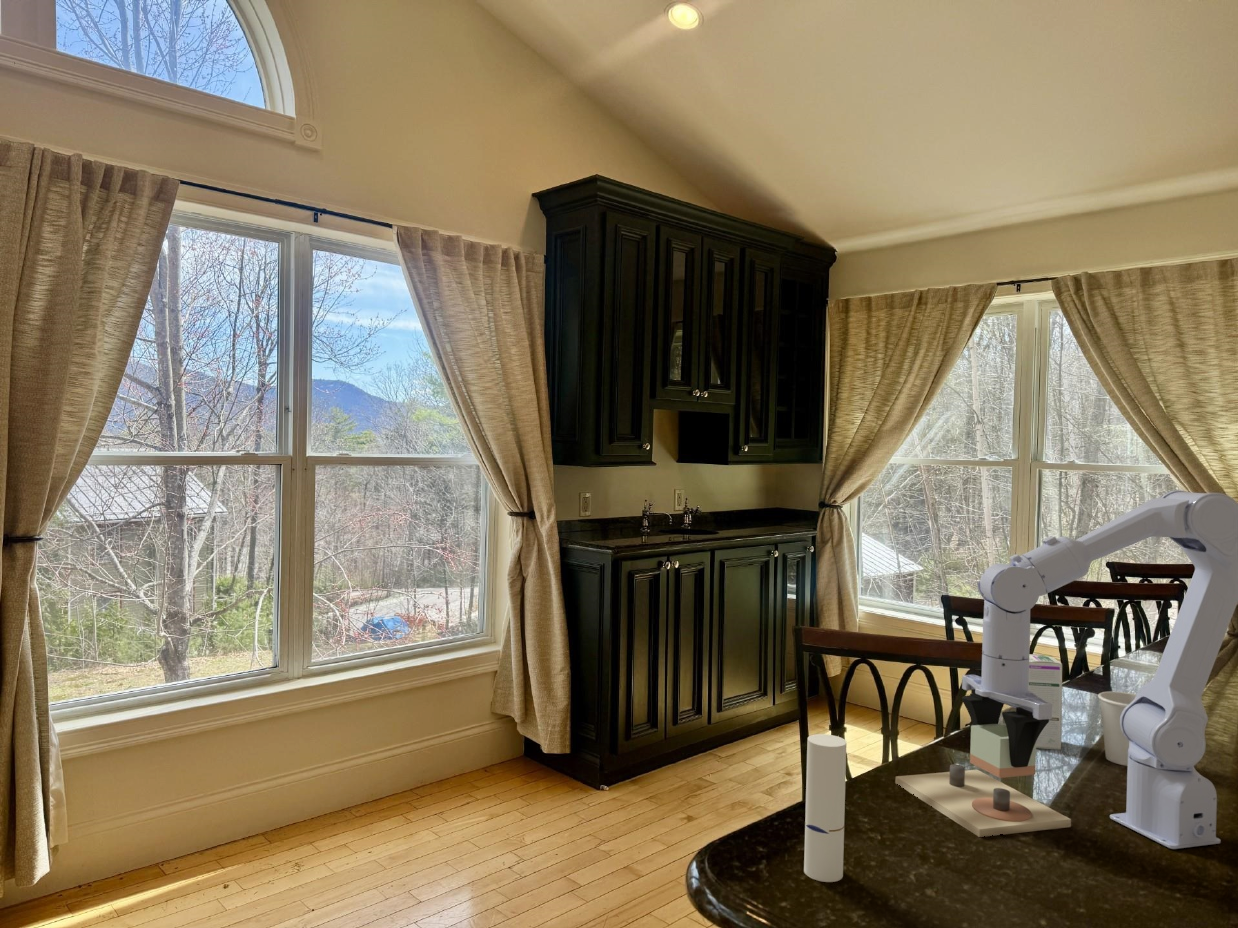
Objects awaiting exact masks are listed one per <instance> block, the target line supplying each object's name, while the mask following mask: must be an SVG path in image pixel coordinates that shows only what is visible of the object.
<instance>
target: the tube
mask: <svg viewBox="0 0 1238 928" xmlns="http://www.w3.org/2000/svg"><path fill="white" fill-rule="evenodd" d="M806 746H807V748H806V749H807V750H806V777H805V778H806V782H805V783H806V786H805V788H806V789H805V815H804V817H805V821H804V851H803V852H804V856H803V857H804V860H803V873H804V874H805V875H806V876H807V877H809V878H810V879H812V880H814V881H815V880H816V881H818V882H825V883H833V882H834V883H835V882H838V881H840V880H842V879H843V877H844V844H845V814H846V813H845V812H846V811H845V810H846V809H845V807H846V805H845V804H846V801H845V800H846V779H847V778H846V775H847V773H846V772H847V771H846V769H847V767H846V766H847V740H846V739H844V738H843V737H840V736H837V735H832V734H826V733H816V734H812V735H811V734H810V735H809V736H808V737H807V745H806Z"/></svg>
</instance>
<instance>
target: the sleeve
mask: <svg viewBox="0 0 1238 928" xmlns="http://www.w3.org/2000/svg"><path fill="white" fill-rule="evenodd" d="M969 747H970V751H969V753H970V754H969V763H970V764H972V765H974V766H976V767H978V768H979V769H981V770H983V771H985V772H987V773H989V774H991V775H993V776H995V777H997V778H998V779H999V778H1000V779H1002V778H1012V777H1026V776H1034V775H1035V776H1036V763H1037V762H1036V761H1037V759H1036V758H1037V748H1036V743H1035V745H1034V748H1033V751H1032V754H1031V757H1030V760H1029V763H1028V766H1027V767H1017V768H1015V767H1013V766H1011V762H1010V754H1009V737H1008V731H1007V727H1006V724H1005V722H1004V723H998V724H987V725H973V724H972V725H970V746H969Z"/></svg>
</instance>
